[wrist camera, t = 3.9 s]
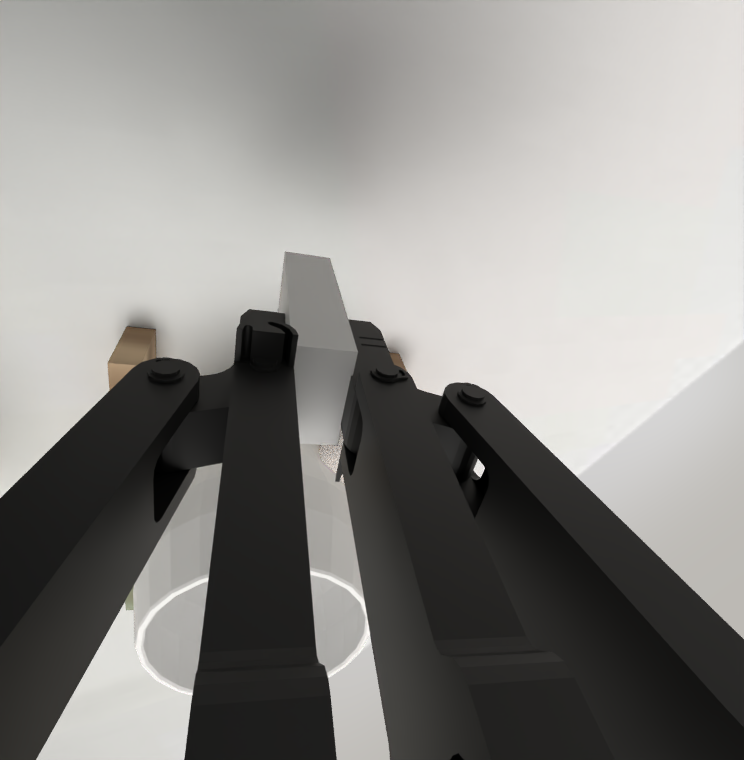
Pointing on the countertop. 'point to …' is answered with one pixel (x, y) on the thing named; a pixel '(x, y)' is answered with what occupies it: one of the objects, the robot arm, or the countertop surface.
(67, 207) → the countertop surface
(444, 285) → the countertop surface
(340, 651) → the cup
